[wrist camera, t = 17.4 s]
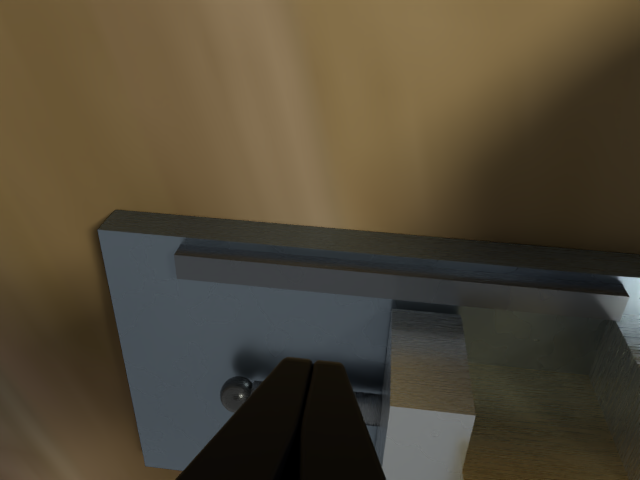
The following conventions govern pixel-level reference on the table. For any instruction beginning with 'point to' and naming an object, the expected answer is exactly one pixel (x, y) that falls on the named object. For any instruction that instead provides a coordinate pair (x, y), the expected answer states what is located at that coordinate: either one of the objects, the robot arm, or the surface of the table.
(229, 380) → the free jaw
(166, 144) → the table surface
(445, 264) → the vise
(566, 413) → the brass block
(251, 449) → the robot arm
